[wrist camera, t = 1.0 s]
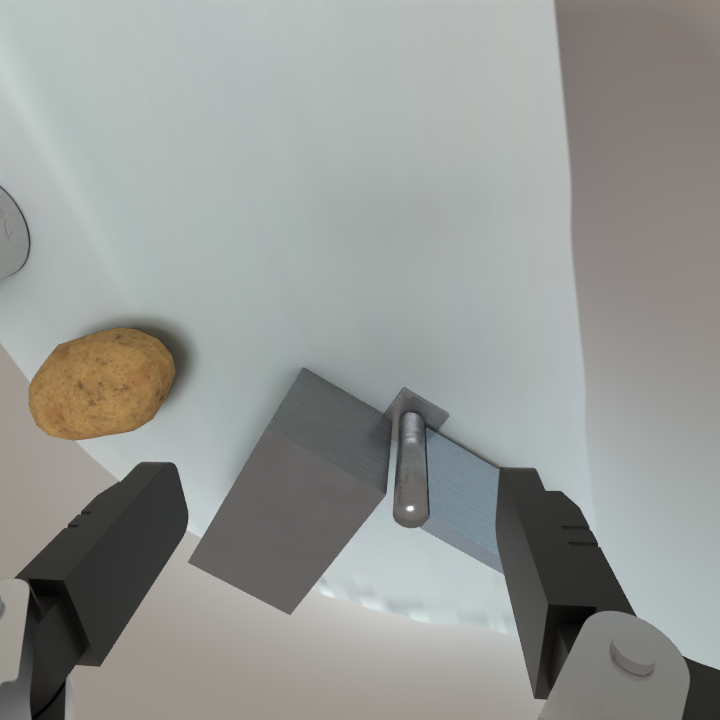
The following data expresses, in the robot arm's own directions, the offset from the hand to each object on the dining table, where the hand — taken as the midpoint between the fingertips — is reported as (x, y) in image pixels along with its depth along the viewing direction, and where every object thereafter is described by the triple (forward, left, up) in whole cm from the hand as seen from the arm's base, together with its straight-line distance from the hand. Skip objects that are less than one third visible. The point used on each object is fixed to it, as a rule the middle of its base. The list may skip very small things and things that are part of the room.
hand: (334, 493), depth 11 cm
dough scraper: (+3, -19, -27) cm, 34 cm away
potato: (-27, -2, -29) cm, 39 cm away
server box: (-10, -16, -28) cm, 34 cm away
